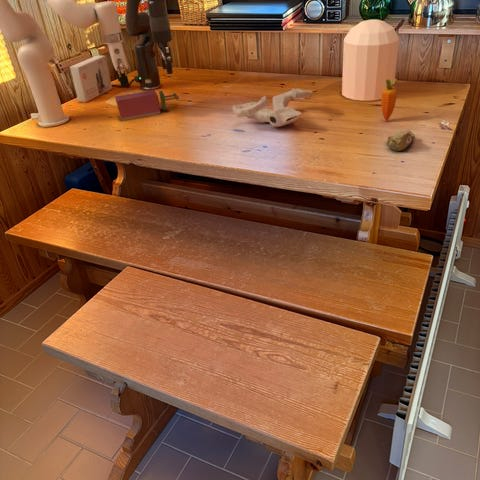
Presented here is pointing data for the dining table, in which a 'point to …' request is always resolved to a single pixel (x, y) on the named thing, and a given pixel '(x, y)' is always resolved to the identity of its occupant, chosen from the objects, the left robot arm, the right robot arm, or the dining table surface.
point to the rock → (400, 140)
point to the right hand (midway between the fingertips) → (167, 71)
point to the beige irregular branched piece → (280, 112)
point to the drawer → (166, 99)
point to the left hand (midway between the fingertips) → (123, 83)
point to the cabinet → (137, 105)
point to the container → (369, 60)
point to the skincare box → (91, 78)
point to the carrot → (388, 99)
